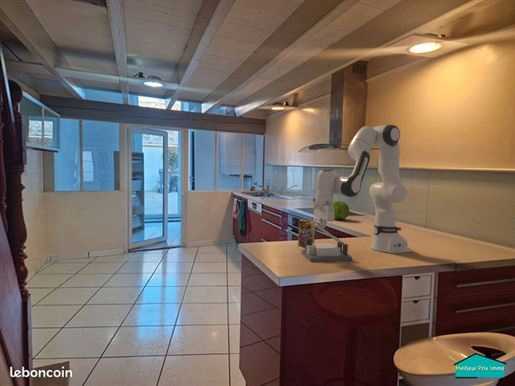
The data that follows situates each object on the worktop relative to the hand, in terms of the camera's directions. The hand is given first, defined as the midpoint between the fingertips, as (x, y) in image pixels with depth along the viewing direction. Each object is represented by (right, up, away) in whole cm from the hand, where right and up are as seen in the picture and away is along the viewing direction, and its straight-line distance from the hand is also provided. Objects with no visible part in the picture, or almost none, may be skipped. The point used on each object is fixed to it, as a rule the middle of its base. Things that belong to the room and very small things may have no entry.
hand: (322, 227), depth 164 cm
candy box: (-5, -14, +24) cm, 28 cm away
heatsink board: (+2, -16, +2) cm, 16 cm away
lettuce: (+39, -7, +130) cm, 136 cm away
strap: (+3, -4, +1) cm, 5 cm away
